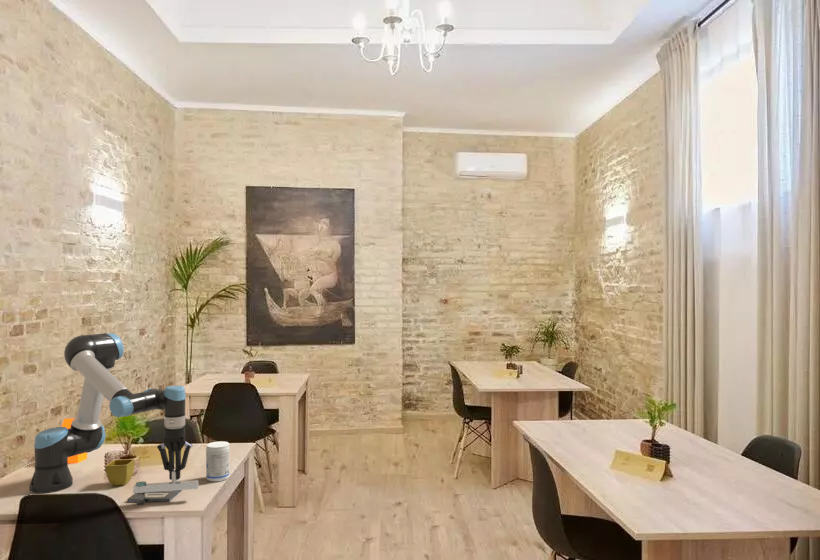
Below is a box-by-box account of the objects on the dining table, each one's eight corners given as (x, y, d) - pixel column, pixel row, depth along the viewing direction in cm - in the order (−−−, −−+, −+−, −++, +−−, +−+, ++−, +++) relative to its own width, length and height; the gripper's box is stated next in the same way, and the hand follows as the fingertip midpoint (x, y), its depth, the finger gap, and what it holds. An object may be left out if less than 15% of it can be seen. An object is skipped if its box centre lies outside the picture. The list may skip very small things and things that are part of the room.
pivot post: (135, 504, 221) (135, 494, 221) (139, 502, 224) (139, 491, 224) (143, 504, 221) (143, 494, 221) (146, 502, 224) (146, 491, 224)
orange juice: (69, 458, 283) (69, 416, 284) (87, 458, 283) (87, 416, 283) (59, 463, 276) (59, 420, 276) (77, 463, 275) (77, 420, 275)
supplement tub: (205, 476, 253) (205, 442, 253) (228, 473, 257) (228, 440, 257) (207, 483, 244) (207, 448, 244) (231, 480, 248) (230, 445, 248)
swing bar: (132, 493, 220) (132, 484, 220) (135, 490, 224) (135, 481, 224) (197, 489, 224) (196, 480, 224) (198, 486, 228) (198, 477, 228)
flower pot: (114, 480, 250) (114, 459, 250) (135, 480, 250) (135, 458, 250) (105, 487, 241) (105, 465, 241) (127, 487, 241) (127, 465, 241)
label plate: (127, 502, 224) (127, 498, 224) (142, 490, 237) (142, 486, 237) (169, 501, 224) (169, 497, 224) (182, 489, 237) (182, 486, 237)
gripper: (153, 429, 223) (153, 491, 223) (188, 429, 224) (188, 491, 224) (162, 424, 231) (162, 484, 231) (195, 424, 231) (195, 484, 231)
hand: (174, 487), depth 227 cm, fingers closed
